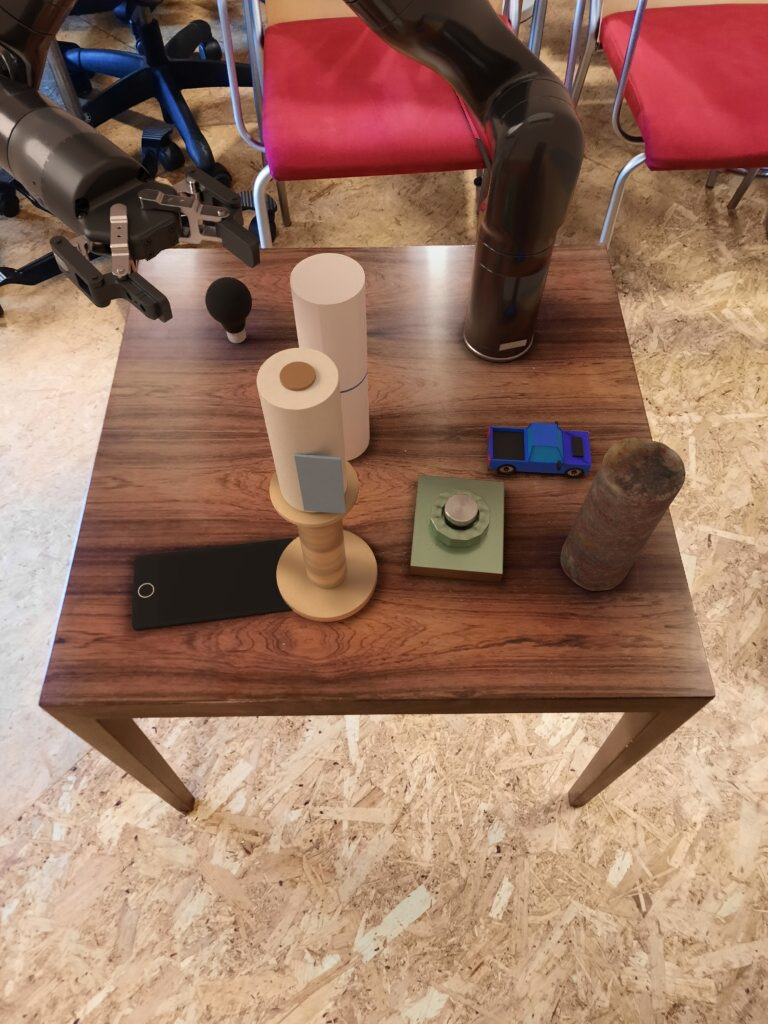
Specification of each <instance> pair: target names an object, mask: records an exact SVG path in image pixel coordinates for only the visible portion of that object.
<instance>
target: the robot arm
mask: <svg viewBox="0 0 768 1024" xmlns="http://www.w3.org/2000/svg"><path fill="white" fill-rule="evenodd" d="M77 1H78V0H0V167H1V168H2V169H3V170H4V171H6V173H8V174H9V175H10V176H11V177H12V178H14V179H15V180H16V181H17V182H18V183H20V184H21V185H22V186H23V187H24V189H25V190H26V191H27V192H28V193H29V194H30V195H31V197H32V198H33V199H34V200H35V201H37V203H38V204H39V205H40V206H41V207H42V208H43V209H45V210H47V211H49V213H51V214H52V215H53V216H55V217H56V219H58V220H59V221H60V222H62V223H63V225H65V226H66V227H68V229H70V230H71V231H72V232H74V233H75V234H76V235H77V236H76V237H74V238H72V239H70V240H68V239H67V238H66V237H65V236H63V235H54V236H53V237H51V238H50V239H49V242H48V243H49V245H50V249H51V251H52V253H53V256H54V258H55V261H56V264H57V266H58V269H59V271H61V272H62V274H64V276H65V277H67V278H68V279H69V280H70V282H71V283H72V284H74V286H75V287H76V288H77V289H78V290H79V291H80V292H81V293H82V294H83V295H84V296H85V297H86V298H87V299H88V300H89V301H90V302H91V303H92V304H93V305H94V306H95V307H97V308H99V309H105V308H107V307H109V306H110V305H111V303H112V301H114V300H117V299H118V300H119V299H121V300H122V301H126V302H128V303H130V304H131V305H132V306H134V308H136V310H138V311H139V312H140V313H141V314H143V315H144V316H145V317H146V318H147V319H149V320H152V321H156V320H159V321H160V322H161V323H163V324H165V323H168V322H169V321H171V320H172V319H173V318H174V316H173V311H172V307H171V303H170V301H169V298H168V297H167V296H166V295H165V294H164V292H162V291H160V290H159V289H158V288H157V287H155V285H153V284H152V283H151V282H149V280H147V279H146V278H145V277H143V275H142V274H140V273H139V272H138V261H146V262H149V261H150V260H152V259H154V258H156V257H157V255H159V254H160V253H161V252H162V251H165V250H168V249H171V248H173V247H175V246H176V245H178V244H180V243H186V244H193V245H200V244H201V243H202V242H203V241H208V242H214V243H215V242H216V243H221V244H222V247H223V248H224V249H226V251H228V252H229V253H230V254H232V255H233V256H234V257H236V258H237V259H238V260H240V261H241V262H242V263H244V264H245V265H246V266H248V268H250V269H254V268H256V267H257V266H260V264H261V251H260V240H259V239H258V236H256V235H255V234H254V233H253V232H251V231H250V230H248V229H247V228H246V227H244V226H245V221H244V219H245V218H244V216H243V215H244V214H243V207H242V204H243V201H242V196H241V195H240V194H238V193H237V192H235V191H234V190H233V189H231V188H229V187H228V186H226V185H225V184H224V183H222V182H221V181H219V180H217V179H216V178H214V177H213V176H211V175H209V174H208V173H206V172H205V171H203V170H202V169H200V168H198V167H197V166H194V165H189V166H186V167H185V168H184V169H183V175H184V178H183V179H181V180H180V181H178V182H176V183H175V184H173V185H170V184H168V183H164V182H160V181H158V180H156V179H155V178H154V177H153V176H152V175H151V173H150V172H149V171H148V170H147V169H146V168H145V167H144V165H143V164H142V163H140V162H139V161H138V160H137V159H135V158H133V157H132V156H131V155H130V154H128V153H127V152H126V151H124V150H123V149H122V148H121V147H119V146H118V145H117V144H115V143H114V142H113V141H112V140H110V139H109V138H107V137H106V136H105V135H104V134H103V133H101V132H100V131H99V130H97V129H96V128H94V127H93V126H92V125H90V124H89V123H88V122H86V121H85V120H83V119H81V118H79V117H77V116H76V115H73V114H72V113H70V112H68V111H67V110H66V109H65V108H63V107H62V106H60V105H59V104H58V103H56V102H55V101H54V100H53V99H51V97H49V96H47V95H46V94H45V93H43V92H42V91H40V87H41V83H42V79H43V77H44V76H43V75H44V71H45V67H46V63H47V60H48V56H49V52H50V48H51V45H52V42H53V41H54V39H55V37H56V36H57V34H58V33H59V31H60V30H61V28H62V26H63V25H64V23H65V21H66V20H67V18H68V16H69V15H70V13H71V12H72V10H73V8H74V6H75V5H76V4H77ZM342 2H344V4H345V5H346V6H347V7H348V8H349V9H350V11H352V12H353V13H354V14H355V15H356V16H357V17H358V18H359V20H360V21H362V23H363V24H364V25H365V26H366V27H367V28H368V29H369V30H370V31H371V32H372V33H373V34H374V35H376V36H377V37H378V38H379V39H380V40H381V41H382V42H383V43H384V44H386V45H387V46H388V47H389V48H390V49H392V50H393V51H395V52H397V53H398V54H400V55H402V56H404V57H406V58H407V59H409V60H411V61H413V62H414V63H417V64H419V65H421V66H423V67H425V68H427V69H429V70H431V71H432V72H433V73H435V74H436V75H438V76H440V77H441V78H442V79H443V80H444V81H446V83H448V85H449V86H450V87H451V88H452V89H453V90H455V91H456V92H457V94H458V95H459V96H460V97H461V98H462V100H463V101H464V103H465V106H466V107H468V109H469V110H470V111H471V113H472V115H473V116H474V117H475V119H476V120H477V122H478V123H479V125H480V127H481V129H482V130H483V133H484V135H485V137H486V141H487V145H488V149H489V153H490V157H491V161H490V158H489V156H488V152H487V150H486V148H485V146H484V143H483V141H482V138H480V139H478V138H475V137H474V139H475V142H476V144H477V146H478V148H479V151H480V153H481V156H482V158H483V162H484V164H485V167H486V170H487V172H488V176H489V187H488V192H487V196H486V197H485V198H484V199H483V200H482V202H481V204H480V206H479V210H478V217H477V226H476V231H475V233H476V234H475V242H474V247H473V248H474V251H473V258H472V267H471V274H470V282H469V288H468V289H469V291H468V298H467V305H466V313H465V320H464V321H465V322H464V325H463V331H462V338H463V343H464V344H465V347H466V348H467V349H468V350H469V352H471V353H472V354H473V355H474V356H475V357H478V358H479V359H482V360H484V361H488V362H492V363H510V362H512V361H517V360H519V359H520V358H522V357H524V356H525V355H526V354H527V353H528V352H529V351H530V349H531V347H532V345H533V341H534V332H535V329H536V325H537V321H538V318H539V317H538V316H539V312H540V309H541V304H542V300H543V295H544V292H545V287H546V283H547V279H548V274H549V270H550V266H551V263H552V262H551V261H552V257H553V254H554V253H553V252H554V248H555V244H556V240H557V235H558V231H559V230H560V228H561V227H562V226H563V225H564V223H565V221H566V219H567V217H568V215H569V212H570V208H571V204H572V202H573V197H574V195H575V191H576V188H577V184H578V181H579V177H580V173H581V169H582V166H583V162H584V161H583V160H584V156H585V149H586V136H585V131H584V127H583V125H582V122H581V119H580V116H579V113H578V111H577V108H576V105H575V103H574V101H573V98H572V96H571V95H572V94H571V92H570V91H569V90H568V88H567V86H566V84H565V83H564V82H563V80H562V79H561V78H560V77H559V76H558V75H557V74H556V73H555V72H554V71H553V70H552V69H551V68H550V67H549V66H547V64H545V62H543V60H541V59H540V58H539V57H538V56H537V55H536V54H535V53H534V52H533V51H532V50H531V49H530V48H529V47H528V46H527V45H526V44H525V43H524V42H523V41H522V40H521V39H520V38H519V37H518V36H517V35H516V34H515V33H514V32H513V31H512V30H511V28H510V27H509V26H508V25H507V24H506V23H505V22H504V21H503V19H502V18H501V17H500V15H499V14H498V13H497V11H496V9H495V8H494V7H493V5H492V3H491V2H490V0H342ZM455 91H454V92H455ZM482 145H483V146H482ZM182 214H184V215H185V216H186V217H187V220H188V225H189V227H188V226H187V227H186V226H183V222H182ZM204 221H207V222H214V225H207V224H205V223H204ZM90 252H91V253H92V254H94V255H97V256H103V257H111V272H106V273H102V272H101V271H100V270H99V269H98V268H97V267H96V266H95V265H94V264H93V263H91V261H90V260H91V259H90V258H89V254H90Z"/></svg>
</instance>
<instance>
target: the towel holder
mask: <svg viewBox="0 0 768 1024" xmlns="http://www.w3.org/2000/svg"><path fill="white" fill-rule="evenodd" d="M346 471H347V489H346V492H345V494H344V497H345V508H346V514H339V513H327V512H304V511H300V510H298V509H295V508H294V507H292V506H291V505H289V504H288V503H287V502H286V501H285V499H284V498H283V496H282V494H281V490H280V486H279V481H278V477H277V472H276V470H275V471H274V472H273V474H272V476H271V479H270V483H269V488H268V489H269V497H270V501H271V504H272V506H273V508H274V510H275V511H276V513H277V514H278V515H279V516H280V517H282V518H283V519H284V520H285V521H287V522H288V523H290V524H293V525H295V526H296V527H297V532H298V536H297V537H296V538H295V539H294V540H293V541H292V542H291V543H290V544H289V545H288V546H287V548H286V549H285V550H284V552H283V553H282V555H281V557H280V559H279V562H278V566H277V584H278V587H279V591H280V593H281V595H282V597H283V599H284V601H285V602H286V603H287V604H288V606H289V607H290V608H291V609H292V612H294V613H295V614H296V615H298V616H300V617H302V618H304V619H306V620H307V619H308V620H310V621H314V622H319V623H331V622H337V621H342V620H345V619H348V618H350V617H352V616H354V615H355V614H356V613H359V612H360V611H361V610H362V609H363V608H364V607H365V606H366V605H367V604H368V603H369V601H370V600H371V599H372V597H373V595H374V593H375V590H376V588H377V583H378V564H377V563H378V562H377V560H376V557H375V554H374V552H373V550H372V549H371V546H369V545H368V543H367V542H366V541H365V540H364V539H363V538H362V537H360V536H358V535H357V534H355V533H353V532H351V531H349V530H346V529H344V524H343V518H345V516H347V515H348V514H349V513H350V512H351V511H352V509H353V508H354V506H355V505H356V503H357V500H358V498H359V492H360V483H359V477H358V474H357V472H356V470H355V468H354V467H353V466H352V464H351V463H350V462H349V460H348V461H346Z"/></svg>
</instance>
